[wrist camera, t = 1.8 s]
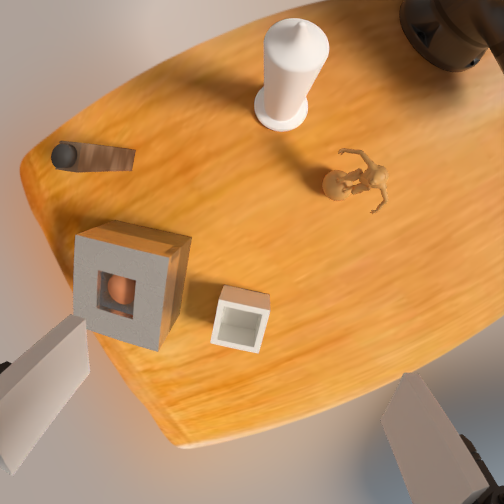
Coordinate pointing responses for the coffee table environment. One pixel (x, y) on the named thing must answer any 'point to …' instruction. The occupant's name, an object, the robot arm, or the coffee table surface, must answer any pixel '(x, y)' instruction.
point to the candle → (289, 72)
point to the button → (122, 289)
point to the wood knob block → (91, 157)
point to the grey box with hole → (136, 268)
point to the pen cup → (241, 319)
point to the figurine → (341, 186)
